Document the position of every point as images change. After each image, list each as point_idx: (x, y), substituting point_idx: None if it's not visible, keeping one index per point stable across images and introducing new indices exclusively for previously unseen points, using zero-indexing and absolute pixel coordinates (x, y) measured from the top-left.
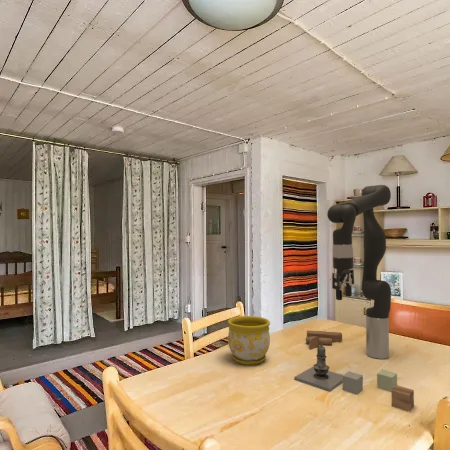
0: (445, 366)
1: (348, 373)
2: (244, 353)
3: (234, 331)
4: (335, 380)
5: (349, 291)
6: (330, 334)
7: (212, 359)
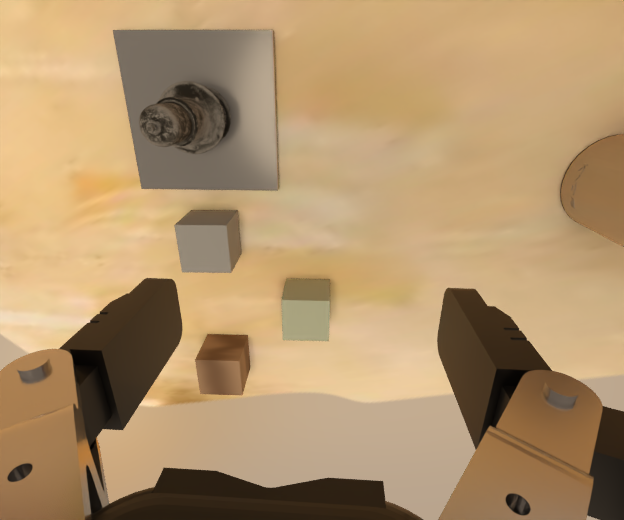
0: (596, 377)
1: (206, 232)
2: None
3: None
4: (213, 174)
5: (456, 375)
6: None
7: None
